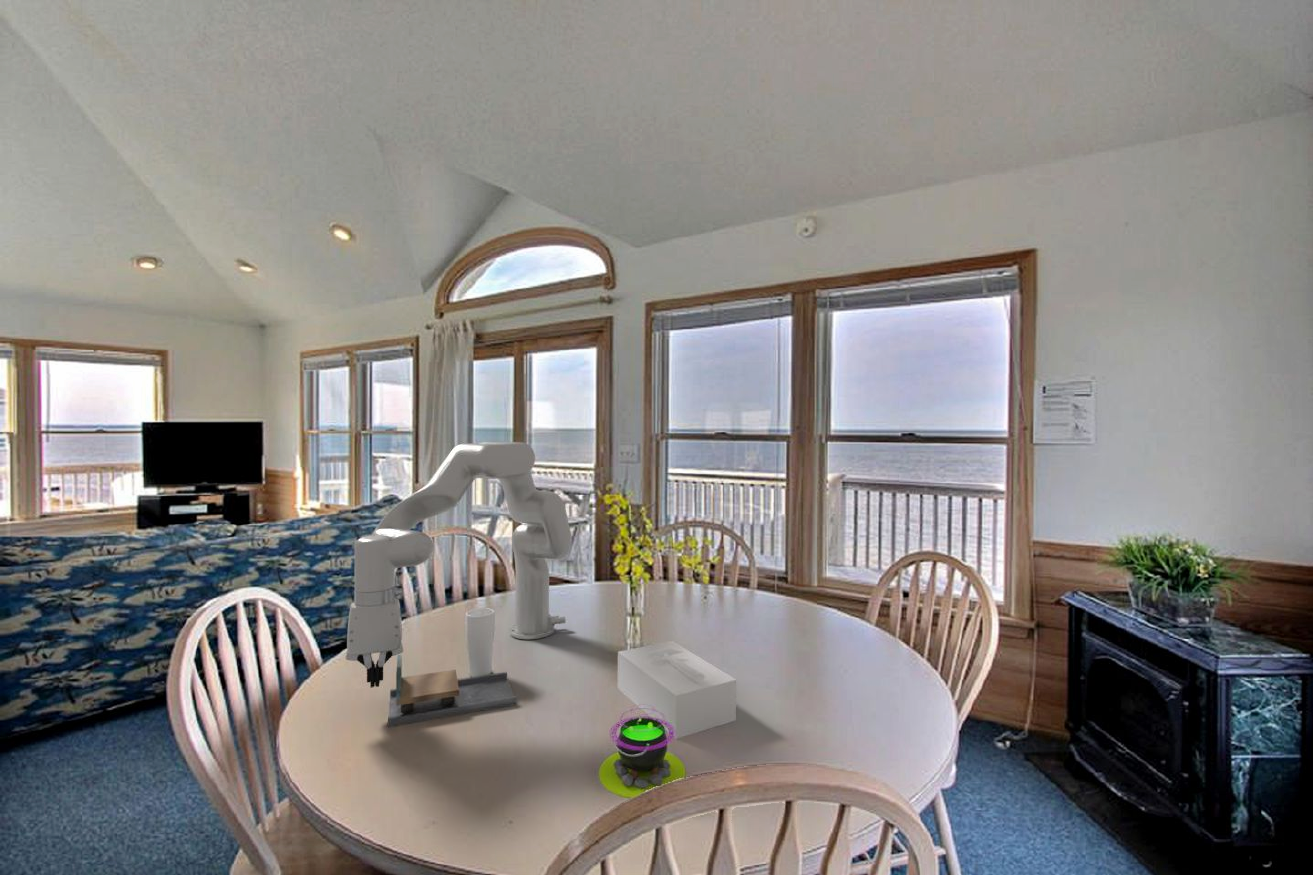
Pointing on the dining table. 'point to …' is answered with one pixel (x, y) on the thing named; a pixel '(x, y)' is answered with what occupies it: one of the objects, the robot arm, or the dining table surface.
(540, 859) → the dining table surface
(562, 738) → the dining table surface
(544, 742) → the dining table surface
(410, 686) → the cart
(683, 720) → the white hammer mold block
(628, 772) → the toy cauldron
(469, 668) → the drinking glass
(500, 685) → the rail
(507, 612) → the dining table surface
